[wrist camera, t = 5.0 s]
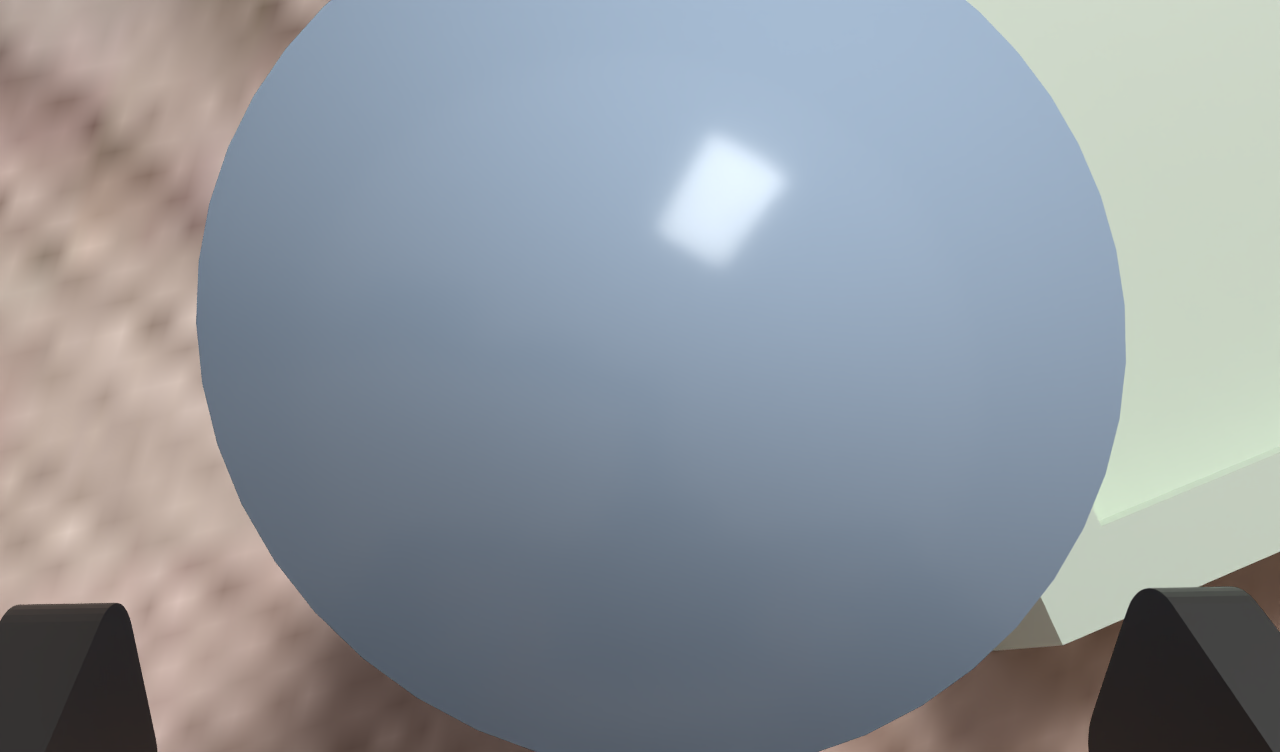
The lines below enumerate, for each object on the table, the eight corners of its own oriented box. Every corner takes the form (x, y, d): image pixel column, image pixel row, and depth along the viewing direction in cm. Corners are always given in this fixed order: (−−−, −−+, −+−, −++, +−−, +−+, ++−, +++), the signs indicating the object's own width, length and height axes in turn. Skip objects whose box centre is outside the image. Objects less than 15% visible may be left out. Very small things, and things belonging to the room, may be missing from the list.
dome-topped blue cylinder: (464, 787, 17) (379, 944, 7) (332, 408, 18) (79, 18, 8) (835, 632, 18) (1283, 553, 8) (689, 284, 19) (901, -212, 9)
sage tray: (990, 651, 18) (1063, 645, 16) (605, -219, 21) (617, -335, 19) (1796, 306, 21) (1961, 256, 19) (1354, -417, 24) (1446, -539, 22)
